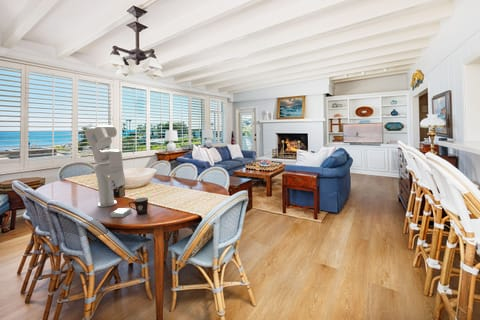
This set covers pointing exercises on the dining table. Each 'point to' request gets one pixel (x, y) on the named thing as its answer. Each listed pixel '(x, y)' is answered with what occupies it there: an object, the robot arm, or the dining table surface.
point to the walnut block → (121, 192)
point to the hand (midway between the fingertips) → (119, 195)
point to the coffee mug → (141, 205)
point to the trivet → (120, 212)
